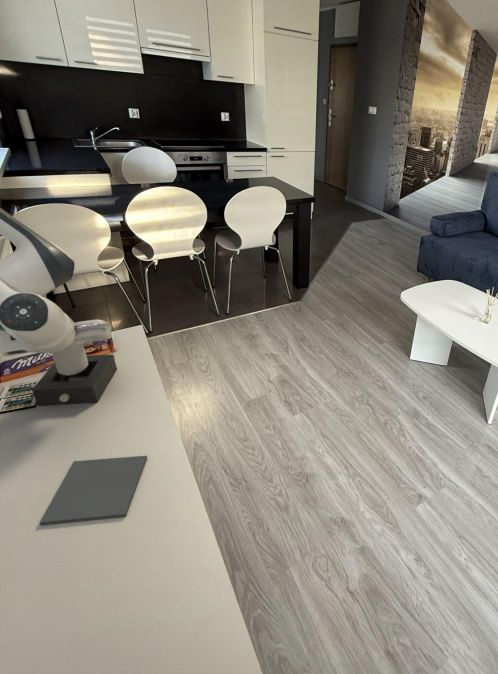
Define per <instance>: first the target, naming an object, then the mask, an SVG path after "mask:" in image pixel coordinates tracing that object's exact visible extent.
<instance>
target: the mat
mask: <svg viewBox="0 0 498 674" xmlns="http://www.w3.org/2000/svg"><path fill="white" fill-rule="evenodd" d="M147 461H148V456H147V455H135V456H124V457H123V456H121V457H110V458H98V459H85V460H74V461H73V462H72V463H71V466H70V467H69V468H68V470H67V472H66V474H65V476H64V478H63V480H62V481H61V484H60V485H59V486H58V489H57V490H56V492H55V494H54V496H53V497H52V499H51V501H50V503H49V505H48V506H47V508H46V509H45V511H44V514H43V516H42V517H41V518H40V520H39V524H40V526H45V525H55V524H64V523H67V524H68V523H76V522H87V521H96V520H105V519H106V520H107V519H115V518H123V517H124V518H125V517H127V514H128V512H129V509H130V507H131V503H132V501H133V498H134V495H135V493H136V490H137V487H138V486H139V485H138V484H139V482H140V479H141V476H142V474H143V471H144V469H145V466H146V463H147Z"/></svg>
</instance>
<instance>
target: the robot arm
mask: <svg viewBox="0 0 498 674" xmlns="http://www.w3.org/2000/svg"><path fill="white" fill-rule="evenodd" d="M0 236H2V237H3V238H5V239H7V240H8V241H10V242H11V243H13V244H14V245H15V247H16V248H15V250H13V252H11V253H10V254H9V255H6V256H5V257H4V258H2V259H0V355H2V356H5V357H11V356H17V355H23V354H29V353H36V354H39V353H43V354H52V353H54V352H58V351H61V350H63V349H65V348H66V347H68V346H71V345H77V344H83V345H89V344H90V343H94V342H100V341H107V340H110V339H111V338H112V336H113V335H112V329H111V328H112V327H111V324H109V323H108V322H107V321H105V320H103V319H90V320H83V321H77V322H74V321H73V319H72V318H71V317H70V316H68V314H67V313H65V312H64V311H63V309H62V308H61V307H60V306H59V305H57V304H56V303H55V302H53V301H52V300H50V299H48V298H47V297H45V296H46V295H47V294H49V293H50V292H52V291H54V290H55V289H58V288H60V287H61V286H63V285H64V284H67V283H68V282H70V281H72V279H73V276H74V273H75V266H76V265H75V264H76V263H75V261H74V260H73V258H72V256H71V255H70V254H69V253H68V252H67V251H66V250H65V249H63V248H62V247H61V246H59V245H57V244H56V243H55V242H52V241H51V240H48V239H46V238H44V237H43V236H42V235H40V234H38V233H37V232H35V231H34V230H32V228H30V227H28V226H27V225H26V224H24V223H23V222H22V221H20V220H18V219H17V218H15V217H14V216H13V215H11V214H10V213H9V212H7V211H5V210H4V209H3V208H1V207H0Z"/></svg>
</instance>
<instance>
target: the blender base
mask: <svg viewBox="0 0 498 674" xmlns="http://www.w3.org/2000/svg"><path fill="white" fill-rule="evenodd" d="M86 356H87V360H88V366H87V367H86V368H85V369H84V370H83V371H81V372H80V373H78V374H75V375H62V374H60V373H59V372H58V371H57V368H56V364H55V362H53V364H52V365H51V366H50V367H49V368H48V370H47V371H46V372H45V373H44V374H43V376H42V377H41V378H40V379H39V381H38V382H37V383H36V384H35V385H34V387H33V388H32V389H31V392H32V394H33V396H34V399H35V403H36V405H37V406H38V407H42V406H63V405H81V404H96V403H99V401H100V399H101V398H102V396H103V394H104V392H105V390H106V389H107V388H108V387H109V386H108V385H109V384H110V382H111V381H112V379H113V377H114V375H115V374H116V371H117V370H118V367H117V364H116V360H115V355H114V354H91V355H90V354H89V355H88V354H86ZM83 377H86V379H85V380H83V379H82V380H71V378H83Z"/></svg>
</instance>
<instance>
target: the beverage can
mask: <svg viewBox="0 0 498 674" xmlns="http://www.w3.org/2000/svg"><path fill="white" fill-rule="evenodd" d="M51 355H52V358H53V362H54V363H55V364H56V368H57V371H58V372H59V373H60V374H62V375H75V374H78V373H80V372H81V371H83V370H84V369H85V368H86V367H87V366H88V360H87V356H86V355H87V353H86V349H85V344H77V345H71V346H68V347H66V348H65V349H63V350H61V351H58V352H54V353H51Z"/></svg>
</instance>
